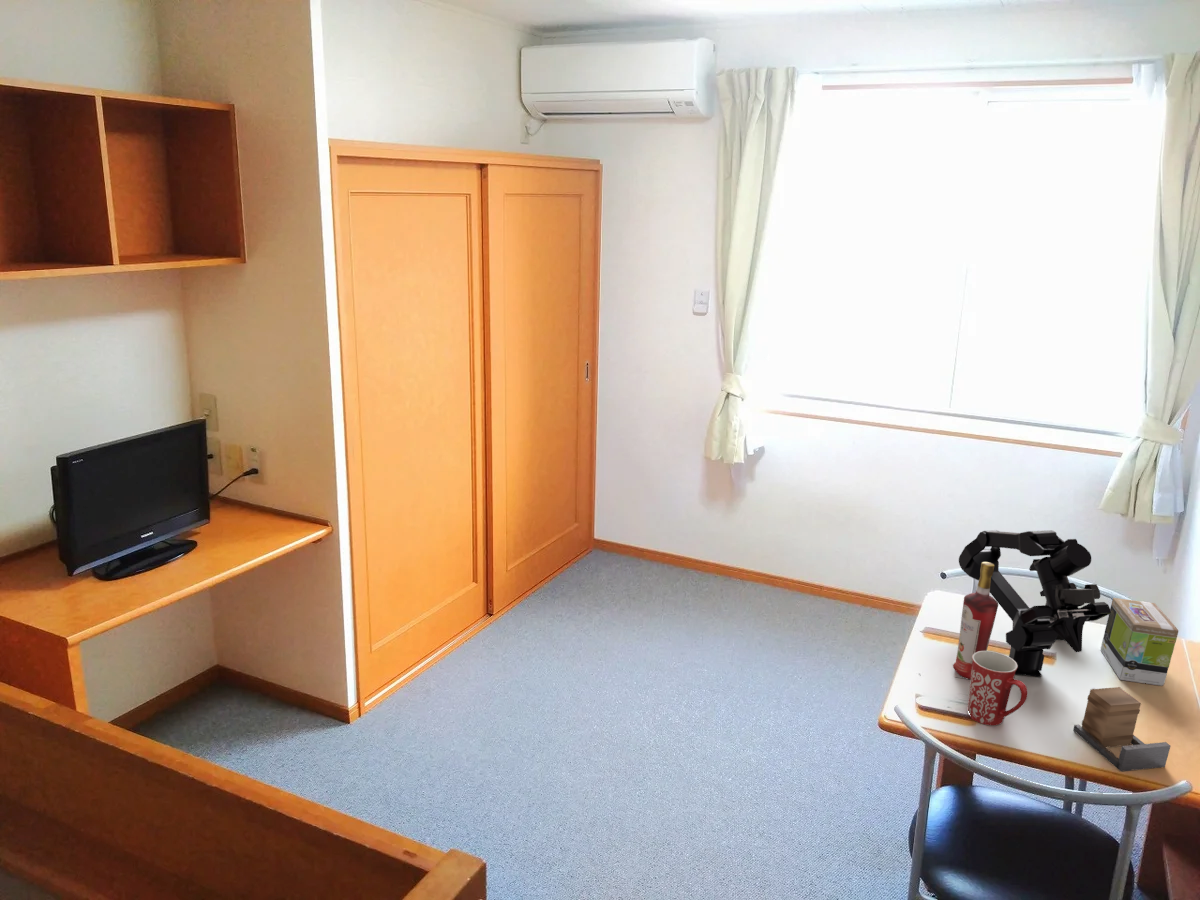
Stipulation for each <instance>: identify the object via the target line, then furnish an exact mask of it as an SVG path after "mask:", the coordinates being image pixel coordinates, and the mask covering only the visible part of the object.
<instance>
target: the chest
mask: <svg viewBox="0 0 1200 900" xmlns="http://www.w3.org/2000/svg"><path fill="white" fill-rule="evenodd" d="M1086 703H1087V704H1086V707H1085V711H1084V716H1083V720H1082V721H1081V727H1082V728H1083V729H1085V730H1086V731H1087V732H1088V733H1089V734H1091V735H1092V736H1093V737H1094V738H1095V739H1096V740H1098V741H1099V742H1100V743H1101V744H1102V745H1104V746H1105V747H1106V748H1113V747H1115V748H1117V747H1122V746H1129V745H1132V744H1131V740H1132V739H1133V736H1135V734H1134V732H1135V728H1136V723H1137V720H1138V717H1139V714H1140V711H1141V709H1140V708H1141V705H1142V704H1141V702H1140V701H1139V700H1138V699H1136V698H1135V697H1133V696H1132V695H1131V694H1129V693H1128V692H1127V691H1125V690H1124V689H1123V688H1121V687H1120V686H1118V687H1117V686H1116V687H1106V688H1105V687H1104V688H1091V689H1090V690H1089V693H1088V695H1087V702H1086Z"/></svg>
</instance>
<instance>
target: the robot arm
mask: <svg viewBox="0 0 1200 900" xmlns="http://www.w3.org/2000/svg"><path fill="white" fill-rule="evenodd" d="M988 547H989V548H988ZM1001 548H1002V549H1010V550H1011V549H1012V550H1018V551H1019V553H1020V554H1022V555H1023V554H1024V555H1025V556H1029V557H1041V558H1040V559H1039V558H1035V559H1032V562H1031V564H1030V566H1029V571H1030V572H1035V571H1036V573H1037V577H1038V580H1039V583H1040V585H1041V589H1042V590H1041V591H1039V594H1040V597H1045V602H1046V601H1047V604H1048V605H1045V604H1044V605H1033V606H1031V607H1029V605H1028V604H1027V603H1026V602H1025V600H1023V598H1022V597H1021V595H1019V594H1018V592H1017V591H1016V589H1014V587H1013V586H1012V585H1011V584H1010V582H1009V581H1008V580H1007V578H1005V577H1004V576H1003V574H1002V573H1001V572H1000V570H999V568H1000V567H999V565H1000V564H999V559H1000V558H1001V556H1002V552H1001ZM1043 556H1044V557H1043ZM982 562H989V563H992V564H994V570H993V574H992V576H991V581H990V595H992V596H991V597H993V598H994V599H995V600H996V601H997V602H998V606H1000V607H1001V608H1002V609H1003V611H1004V612H1005V613H1006V615H1007V616H1008V617H1009V618H1010V620H1011V622H1012V628H1011V629H1012V630H1010V631H1008V632H1006V633H1005V642H1006V643H1007V644H1008V645H1009V646H1010V648H1009V649H1010V650H1009V655H1008V657H1010V658H1012V659H1013V660H1014V661H1015V662H1016V663H1017V665H1018V668H1017V670H1016V671H1015V675H1019V676H1027V677H1028V676H1030V677H1042V673H1041V671H1042V669H1043V664H1044V661H1045V654H1044V650H1050V649H1051V647H1053V644H1054V643H1055V642H1056V638H1057V634H1058V635H1060V636H1061V637H1062V638H1063V639H1064V640H1063V641H1064V642H1066V644H1067V645H1068V646H1069V647H1070V648H1071V649H1072V650H1073V651H1074V652H1075V653H1079V652H1082V651H1083V630H1084V625H1085V624H1086V622H1095V621H1097V620H1100V619H1103V618H1104V617H1106V616H1109V614H1111V610H1110V608H1111V607H1110V606H1109V604H1108V603H1107V602H1105V601H1099V602H1098V601H1095V600H1098V599H1100V598H1101V591H1100V588H1099V586H1098V584H1096V583H1095V584H1094V583H1093V584H1092V583H1091V584H1089V583H1088V584H1085V585H1084V588H1077V585H1076V584H1075V583H1074V582H1070V580H1069V577H1070V576H1073V575H1075V574H1076V573H1078V572H1080V571H1082V570H1084V569H1085V568H1087V567H1089V566H1090V565H1091V563H1092V555H1091V552H1090V551H1089V550H1088V549H1087V548H1086V547H1085V546H1083V545H1082V544H1080V543H1079V542H1078V540H1077V539H1076V538H1068V539H1066V540H1065V541H1064V540H1063V539H1062V538H1061V537H1059V536H1058V535H1057V532H1056V531H1054V530H1030V531H1029V530H1028V531H1027V530H1026V531H1022V532H1013V531H1011V532H1010V531H1000V530H997V529H994V530H982V531H980V532H979V533H978V535H977V537H976V538H975V539H973V540H972V541H971V542H969V543H968V544H967V545H965V546H964V548H963V550H962V551H961V553H960V554H959V556H958V564H959V567H960V568H961V570H962V571H963V572H964V573H965V574H966V575H967V576H968V577H970V578H972V579H974V580H977V581H978V582H979V579H980V570H981V564H982ZM1085 604H1086V605H1085Z"/></svg>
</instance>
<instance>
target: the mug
mask: <svg viewBox="0 0 1200 900" xmlns="http://www.w3.org/2000/svg"><path fill="white" fill-rule="evenodd" d="M972 660H973V662H972V671H971V679H970V683H969V689H968V690H969V691H968V701H967V707H968V711H969V713H970V715H971V718H970V719H972V720H973V721H975V722H976V723H979V724H980V725H981V724H982V725H985V726H992V727H993V726H999V725H1001V724H1002V723H1003V722H1004V719H1005V717H1007V716H1009V715H1011V714H1013V713H1014V712H1017V710H1019V709H1020V708H1022V707H1023V706H1024V704H1025V703H1026V701H1027V699H1028V687H1027V686H1026V684H1025V683H1024V682H1023V681H1021V680H1019V679H1015V675H1016V674H1015V671H1016V670H1017V668H1018V665H1017V663H1016V662H1015V661H1014V660H1013V659H1012V658H1010V657H1009V655H1006V654H1004V653H1001V652H997V651H992V650H987V651H978V652H976V653H974V654H973V655H972ZM1012 686H1013V687H1014V686H1016V687H1018V688H1019V691H1020V699H1019V701H1018V703H1017V704H1016V705H1015V706H1013V707H1012V708H1010V709H1008V710H1007V707H1008V703H1009V699H1010V695H1011V690H1012Z"/></svg>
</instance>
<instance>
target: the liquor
mask: <svg viewBox="0 0 1200 900" xmlns="http://www.w3.org/2000/svg"><path fill="white" fill-rule="evenodd" d="M993 570H994V564H992V563H989V562H982V564H981V570H980V579H979V581H978V583H977V587H976V590H975V592H971V593H968V594H966V595H964V597H963V601H962V602H963V603H962V611H961V617H960V619H961V620H960V629H959V637H958V645H957V652H956V658H955V662H954V663H953V664H952V667H953V669H954V671H955V672H956V673H957V674H958V676H960V677H961V676H962V678H963V677H964V678H963V679H966V678H968V679H967V680H971V671H972V662H973V660H972V655H973V654H974V653H976V652H978V651H988V648H989V644H990V640H991V636H992V632H993V629H994V624H995V620H996V617H997V611H998V607H999V603H998V602H997V601H996V599H995V598H994V597H993V596H991V593H990V581H991V576H992V574H993Z"/></svg>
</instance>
